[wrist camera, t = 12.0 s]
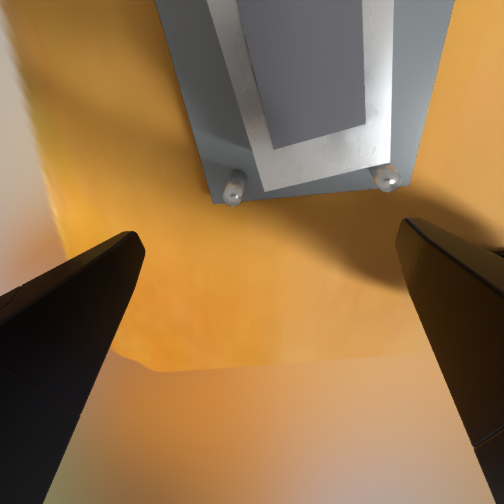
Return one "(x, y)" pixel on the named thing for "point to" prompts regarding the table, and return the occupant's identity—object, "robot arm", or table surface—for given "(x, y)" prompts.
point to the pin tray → (230, 119)
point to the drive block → (310, 83)
